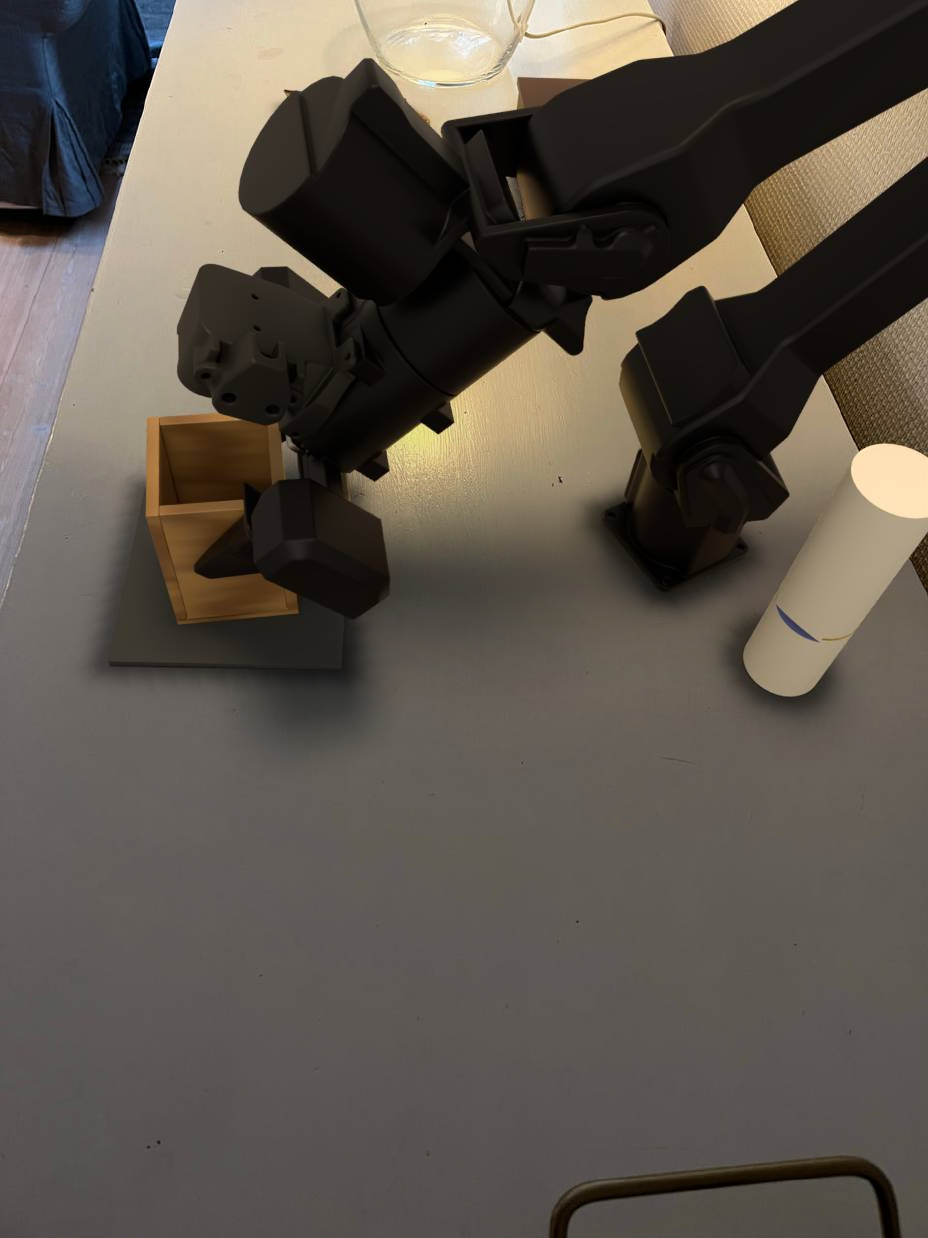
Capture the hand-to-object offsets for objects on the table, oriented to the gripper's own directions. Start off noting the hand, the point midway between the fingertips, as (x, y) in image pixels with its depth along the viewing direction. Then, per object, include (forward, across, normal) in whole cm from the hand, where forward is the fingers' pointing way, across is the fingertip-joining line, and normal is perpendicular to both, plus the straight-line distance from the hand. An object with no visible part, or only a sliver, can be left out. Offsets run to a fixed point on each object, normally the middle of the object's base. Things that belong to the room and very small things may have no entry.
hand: (200, 520), depth 51 cm
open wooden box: (+2, 0, +4) cm, 5 cm away
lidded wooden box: (-18, -35, +24) cm, 46 cm away
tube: (-18, +9, +25) cm, 32 cm away
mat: (+2, 0, +5) cm, 5 cm away
